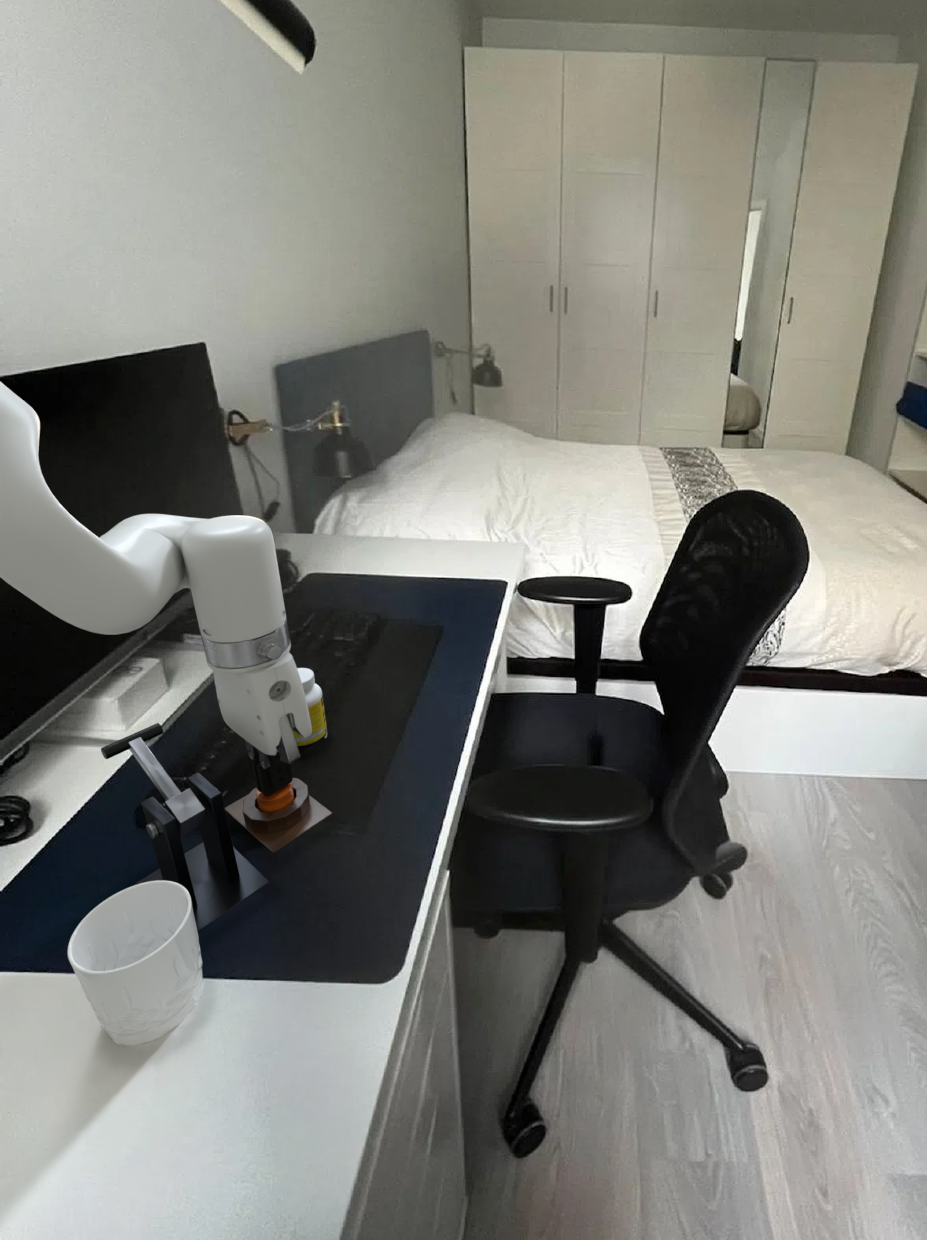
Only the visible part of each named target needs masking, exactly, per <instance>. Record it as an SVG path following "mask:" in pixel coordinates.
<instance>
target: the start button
mask: <svg viewBox="0 0 927 1240" xmlns="http://www.w3.org/2000/svg"><path fill="white" fill-rule="evenodd" d="M256 797H257V802H258V807H259V809H260V810H261V811H263V812H270V813H271V812H274V811H278V810H282V809H284V808H285V807H287V806H289V805H290V804H291V803H292V801H293V799H294V792H293V786H292V782H291V783H290V784H288V785H286V786H285V787H283V788H281V789H280V790H278V791H276V792H275V793H273V794H271V795H270V796H268V797H266V796H264V795H263V794H262V792H260V791H258V790H257V791H256Z"/></svg>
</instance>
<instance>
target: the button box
mask: <svg viewBox="0 0 927 1240" xmlns="http://www.w3.org/2000/svg"><path fill="white" fill-rule="evenodd" d="M292 786H293V792H294V799H293V801H292V803H291V804H290V805H289V806H287V807H285V808H284V809H282V810H278V811H274V812H271V813H270V812H263V811H261V810H260V809H259V807H258V802H257V797H256V791H257V787H256V786H255V787H254V788H253V789H251V790H250V792H249V793H248V794H245V795H244V796H243V797H241V798H239V799H238V800H236V801H234V802H232V803H231V804H229V805H227V806H226V807H224V808H225V812H226V813H227V814H229V816H231V817H232V818H233V819H234V820H235V821H236V822H237V823H238V824H240V825H241V826H242V828H244V829H245V830H246V831H247V832H249V833H250V834H251V836H253V838H255V839H256V840H257V841H259V842H260V844H262V845H263V846H264V847H265V848H266V849H267V850H268V851H270V853H272V854H274V853H276V852H278V851H279V850H280V849H282V848H283V847H285V846H286V845H288V844H290V843H291V842H292V841H294V840H295V839H297V838H298V837H300V836H301V835H303V834H304V833H306V832H307V831H309V830H310V829H312V828H314V827H315V826H316V825H318V824H320V823H321V822H322V821H324V820H325V819H327V818H328V817H330V816H331V815H333V812H332V811H331V810H330V809H328V808H327V807H326V806H325V805H323V804H322V803H320V802H319V801H318V800H317V799H315V798H314V797H312V796H311V795H310V792H309V786H308V784H306V783H305V782H304V781H303V780H302V779H300V778H298V777H293V780H292Z"/></svg>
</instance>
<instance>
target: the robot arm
mask: <svg viewBox="0 0 927 1240" xmlns="http://www.w3.org/2000/svg"><path fill="white" fill-rule="evenodd" d="M40 434H41V421H40V417H39V415H38V413H37V412H36V410H34V408H33V407H32V406H31V405H30V404H29V403H27V402H26V401H25V400H23V399H22V398H21V397H20V396H18V395H17V394H16V393H15V392H14V391H12V389H10V388H9V387H7V385H5V384H4V383H3V382H2V381H0V579H2V580H3V581H4V582H5V583H7V584H8V585H9V586H11V587H12V588H14V589H15V590H16V591H18V592H20V593H21V594H22V595H24V596H25V597H26V598H28V599H30V600H31V601H33V602H34V603H35V604H37V605H38V606H39V607H41V608H43V609H44V610H46V611H47V612H49V613H50V614H52V615H53V616H55V617H57V618H59V620H61V621H64V622H65V623H68V624H70V625H72V626H74V627H77V628H79V629H81V630H84V631H87V632H90V633H93V634H99V635H109V636H110V635H112V636H113V635H122V634H128V633H131V632H133V631H136V630H138V629H141V628H142V627H144V626H146V625H147V624H148V623H150V622H151V621H152V620H153V619H154V618H155V617H156V616H157V615H158V614H159V613H160V612H161V610H163V609H164V607H165V606H166V604H167V603H168V602H169V601H170V599H171V598H172V597H173V596H174V594H176V593H179V592H180V591H181V590H184V589H189V590H190V592H191V596H192V601H193V606H194V610H195V615H196V619H197V624H198V629H199V632H200V637H201V642H202V646H203V650H204V651H203V652H204V655H205V659H206V664H207V666H208V667H209V669H211V670H212V673H213V679H214V687H215V691H216V692H215V693H216V697H217V702H218V706H219V707H218V708H219V710H220V714H221V717H222V719H223V721H224V722H225V724H226V726H228V727H229V729H231V730H232V731H233V732H234V733H236V734H237V735H238V736H239V737H241V738H242V739H243V740H244V743H245V747H246V751H247V754H248V757H249V758H250V759H251V760H252V761H251V767H252V771H253V776H254V781H255V788H256V787H257V790H258V791H260V792H262V794H263V795H264V796H266V797H268V796H270V795H271V794H273V793H275V792H276V791H278V790H280V789H281V788H283V787H285V786H286V785H288V784H290V783H291V782H292V780H293V778H294V777H293V773H292V767H291V766H292V765H291V764H292V763H294V762H295V761H298V760H300V758H301V753H300V750H299V746H297V743H296V740H295V737H294V734H293V731H295V732H296V733H297V734H299V735H300V736H302V737H303V738H307V737H309V736H311V733H312V726H311V720H310V715H309V711H308V706H307V702H306V697H305V693H304V689H303V685H302V682H301V679H300V675H299V673H298V670H297V668H298V667H297V664H296V661H295V659H294V656H293V655H292V654H291V648H292V643H291V637H290V632H289V626H288V619H287V614H286V607H285V602H284V596H283V594H284V593H283V588H282V582H281V576H280V569H279V564H278V558H277V551H276V546H275V545H276V544H275V539H274V536H273V535H274V534H273V532H272V529H271V527H270V526H269V525H268V523H266V522H265V521H264V520H263V519H260V518H258V517H256V516H251V515H236V514H235V515H221V516H217V517H212V518H201V517H189V516H181V515H173V514H166V513H165V514H164V513H141V514H136V515H132V516H129V517H127V518H125V519H123V520H122V521H119V522H118V523H117V524H115V525H114V526H113V527H111V529H110V530H108V531H107V532H105V533H104V534H102V535H100V537H99V536H98V535H96V534H95V533H94V532H92V531H91V530H89V529H88V528H87V527H86V526H85V525H83V524H82V523H81V522H79V520H77V518H75V517H74V516H73V515H72V514H70V513H69V512H68V510H67V509H66V508H65V507H64V506H63V505H62V504H61V503H60V502H59V500H58V499H57V498H56V496H55V495H54V494H53V492H52V491H51V489H50V487H49V486H48V484H47V482H46V480H45V477H44V475H43V473H42V469H41V464H40V459H39V458H40V457H39V449H40V448H39V447H40Z"/></svg>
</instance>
